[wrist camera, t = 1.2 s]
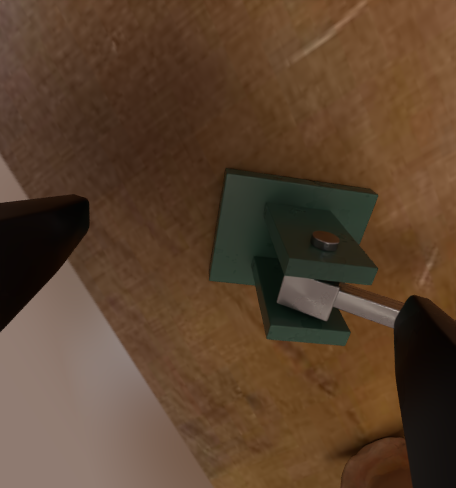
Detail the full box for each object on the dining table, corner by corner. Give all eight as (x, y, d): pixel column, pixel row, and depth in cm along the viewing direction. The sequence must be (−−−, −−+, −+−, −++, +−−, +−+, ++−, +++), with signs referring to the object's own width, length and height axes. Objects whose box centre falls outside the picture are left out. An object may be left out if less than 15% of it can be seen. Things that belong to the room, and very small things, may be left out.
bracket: (371, 188, 23) (446, 247, 16) (335, 285, 27) (383, 369, 19) (225, 167, 22) (234, 220, 15) (208, 272, 26) (209, 356, 18)
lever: (563, 323, 16) (601, 369, 14) (526, 370, 18) (553, 421, 15) (298, 240, 20) (286, 264, 17) (285, 286, 21) (271, 315, 18)
